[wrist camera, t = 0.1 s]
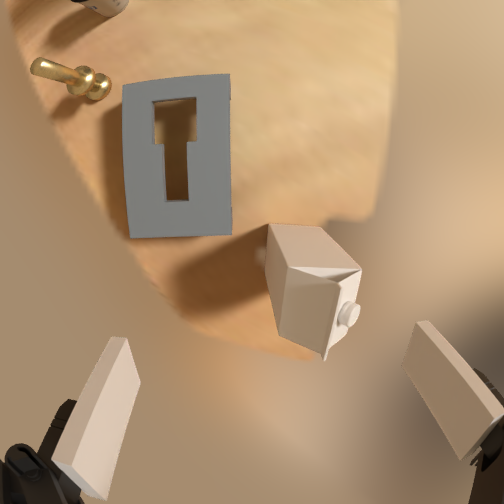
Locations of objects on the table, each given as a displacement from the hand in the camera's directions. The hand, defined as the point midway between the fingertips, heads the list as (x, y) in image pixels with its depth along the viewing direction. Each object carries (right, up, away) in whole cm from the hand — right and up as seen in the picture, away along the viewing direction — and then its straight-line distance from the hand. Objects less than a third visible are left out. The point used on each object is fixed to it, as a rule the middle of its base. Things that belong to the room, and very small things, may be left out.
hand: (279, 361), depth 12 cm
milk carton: (+4, +5, +28) cm, 29 cm away
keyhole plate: (-10, +17, +23) cm, 30 cm away
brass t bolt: (-22, +27, +19) cm, 39 cm away
